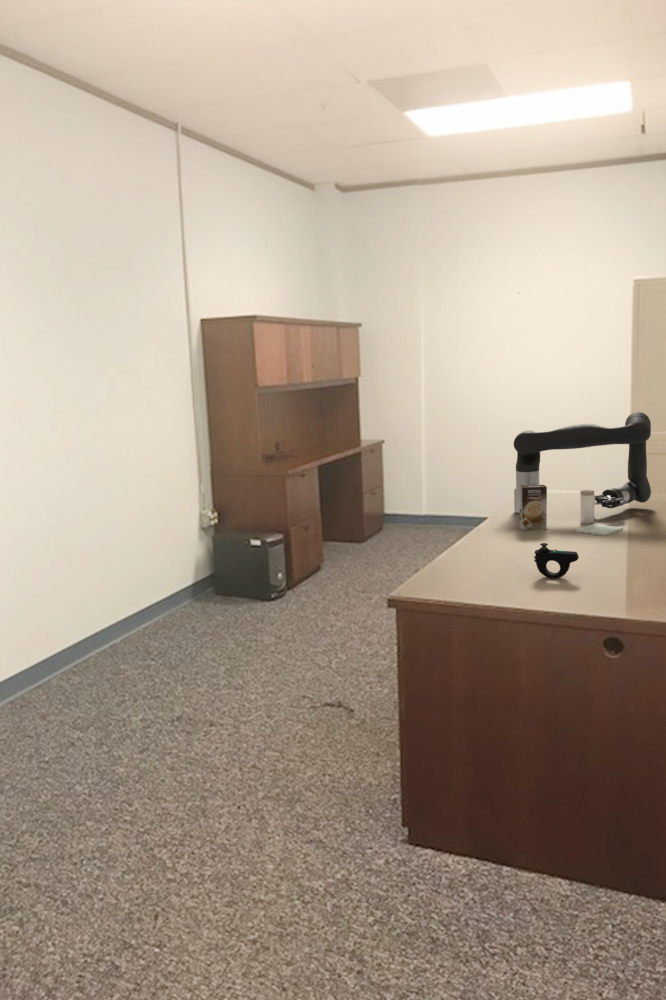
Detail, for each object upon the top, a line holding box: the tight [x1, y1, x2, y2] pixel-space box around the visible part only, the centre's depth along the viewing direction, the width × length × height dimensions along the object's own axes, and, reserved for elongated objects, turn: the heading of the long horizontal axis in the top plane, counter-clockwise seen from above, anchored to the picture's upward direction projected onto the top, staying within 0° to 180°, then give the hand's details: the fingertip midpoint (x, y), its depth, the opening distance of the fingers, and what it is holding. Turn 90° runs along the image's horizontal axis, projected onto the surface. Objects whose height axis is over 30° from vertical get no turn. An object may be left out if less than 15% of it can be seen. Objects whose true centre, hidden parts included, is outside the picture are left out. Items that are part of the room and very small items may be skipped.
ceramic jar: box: [579, 489, 595, 525], centre depth 299 cm, size 5×5×12 cm
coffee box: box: [519, 484, 548, 531], centre depth 294 cm, size 9×6×16 cm
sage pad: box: [574, 523, 624, 537], centre depth 285 cm, size 12×12×1 cm
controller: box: [533, 542, 580, 580], centre depth 228 cm, size 4×12×10 cm, turn 65°
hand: (592, 503), depth 300 cm, fingers open, 8 cm apart
